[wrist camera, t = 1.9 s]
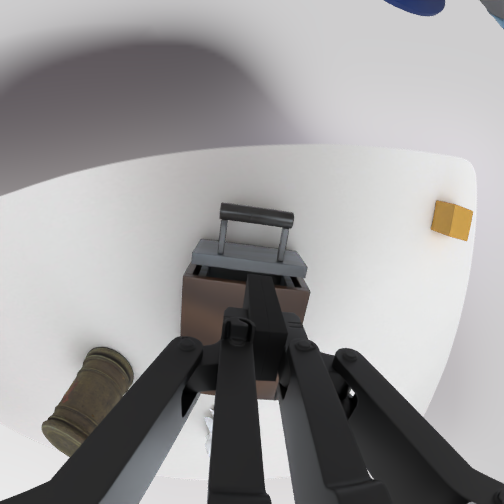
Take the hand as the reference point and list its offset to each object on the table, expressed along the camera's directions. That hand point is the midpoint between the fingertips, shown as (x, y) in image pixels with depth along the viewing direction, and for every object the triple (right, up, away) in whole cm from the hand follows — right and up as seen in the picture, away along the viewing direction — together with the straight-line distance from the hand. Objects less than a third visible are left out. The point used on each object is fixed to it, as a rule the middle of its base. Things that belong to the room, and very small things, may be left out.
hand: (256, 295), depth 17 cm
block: (+28, +8, +16) cm, 33 cm away
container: (-24, -17, +21) cm, 36 cm away
